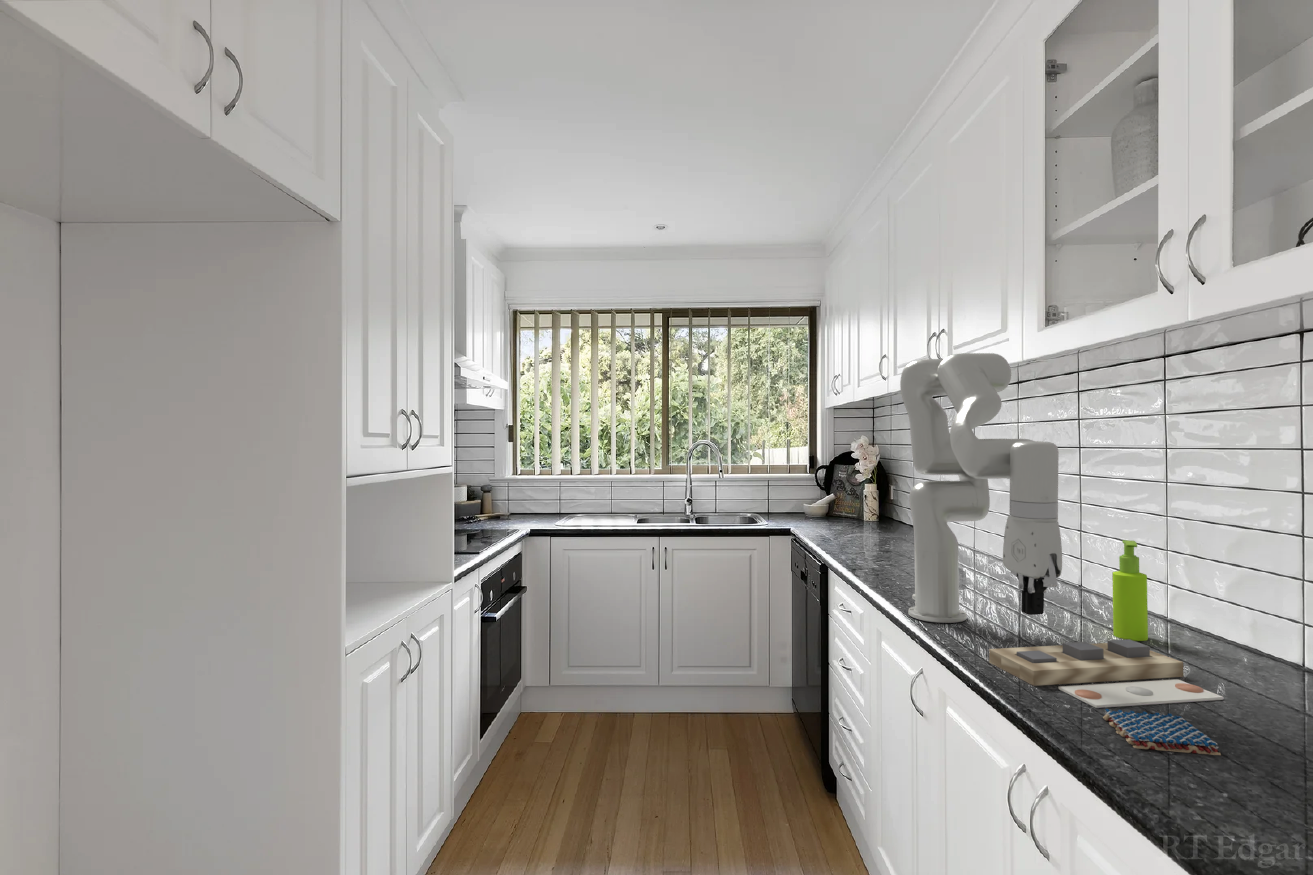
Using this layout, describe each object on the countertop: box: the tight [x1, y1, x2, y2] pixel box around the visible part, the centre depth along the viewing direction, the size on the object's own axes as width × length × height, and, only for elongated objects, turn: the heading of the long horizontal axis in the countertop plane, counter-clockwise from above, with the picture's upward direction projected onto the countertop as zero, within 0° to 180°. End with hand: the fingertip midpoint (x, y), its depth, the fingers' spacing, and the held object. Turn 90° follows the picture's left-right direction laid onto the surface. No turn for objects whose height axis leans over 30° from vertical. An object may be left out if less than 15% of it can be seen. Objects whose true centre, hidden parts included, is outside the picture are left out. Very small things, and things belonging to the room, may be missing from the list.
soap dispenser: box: [1111, 539, 1149, 642], centre depth 139 cm, size 6×7×20 cm
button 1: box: [1017, 650, 1057, 663], centre depth 119 cm, size 4×4×2 cm
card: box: [1058, 678, 1224, 709], centre depth 108 cm, size 22×8×1 cm, turn 97°
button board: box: [988, 642, 1184, 687], centre depth 120 cm, size 28×12×2 cm, turn 97°
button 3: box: [1107, 639, 1151, 658], centre depth 121 cm, size 4×4×2 cm
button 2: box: [1062, 641, 1104, 661], centre depth 120 cm, size 4×4×2 cm
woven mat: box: [1102, 708, 1222, 756], centre depth 93 cm, size 10×11×2 cm
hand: (1032, 612), depth 120 cm, fingers closed
